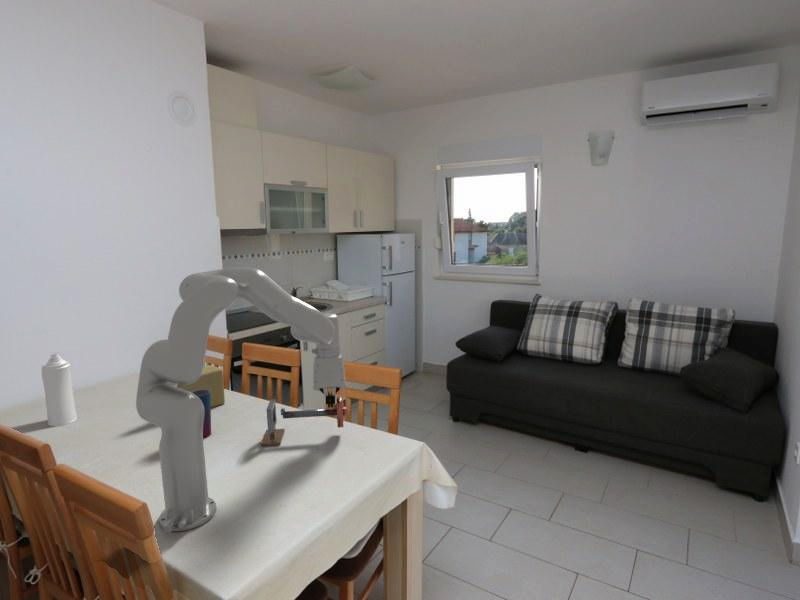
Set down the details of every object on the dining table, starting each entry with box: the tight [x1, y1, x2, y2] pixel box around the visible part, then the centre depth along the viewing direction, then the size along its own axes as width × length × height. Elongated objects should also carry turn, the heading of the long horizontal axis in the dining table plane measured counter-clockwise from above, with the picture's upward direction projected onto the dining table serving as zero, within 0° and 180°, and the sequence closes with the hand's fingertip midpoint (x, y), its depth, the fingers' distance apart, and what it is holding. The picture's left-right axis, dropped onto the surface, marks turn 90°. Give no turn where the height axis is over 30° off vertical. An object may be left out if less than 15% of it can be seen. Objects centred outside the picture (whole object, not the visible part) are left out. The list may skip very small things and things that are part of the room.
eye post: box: [260, 398, 285, 447], centre depth 152 cm, size 10×6×12 cm, turn 6°
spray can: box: [41, 351, 78, 427], centre depth 169 cm, size 12×11×25 cm
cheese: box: [177, 364, 226, 408], centre depth 176 cm, size 22×10×15 cm, turn 144°
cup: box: [191, 389, 212, 439], centre depth 155 cm, size 7×7×15 cm
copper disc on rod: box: [280, 395, 348, 429], centre depth 153 cm, size 10×21×10 cm, turn 96°
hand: (330, 405), depth 153 cm, fingers closed
